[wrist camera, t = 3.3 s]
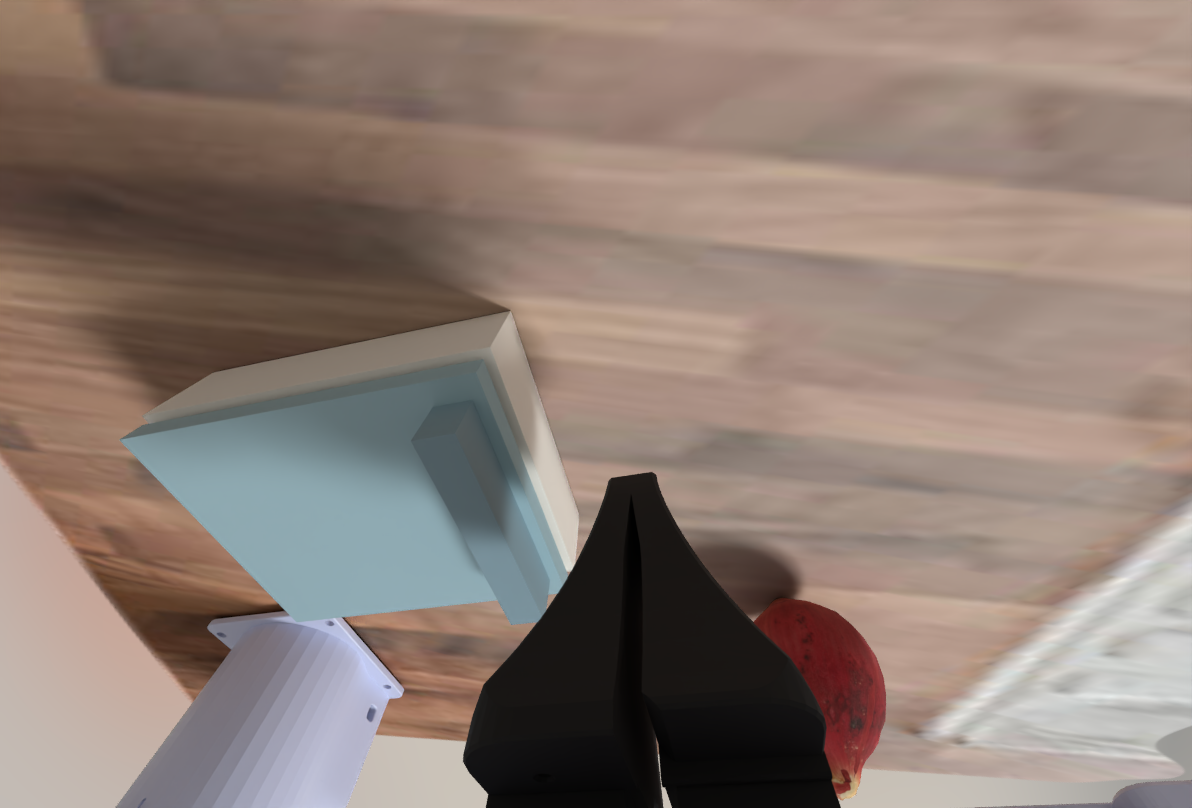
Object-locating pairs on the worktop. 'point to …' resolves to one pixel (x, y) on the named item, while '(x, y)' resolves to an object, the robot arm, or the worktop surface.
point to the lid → (367, 496)
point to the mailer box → (403, 356)
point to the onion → (833, 681)
